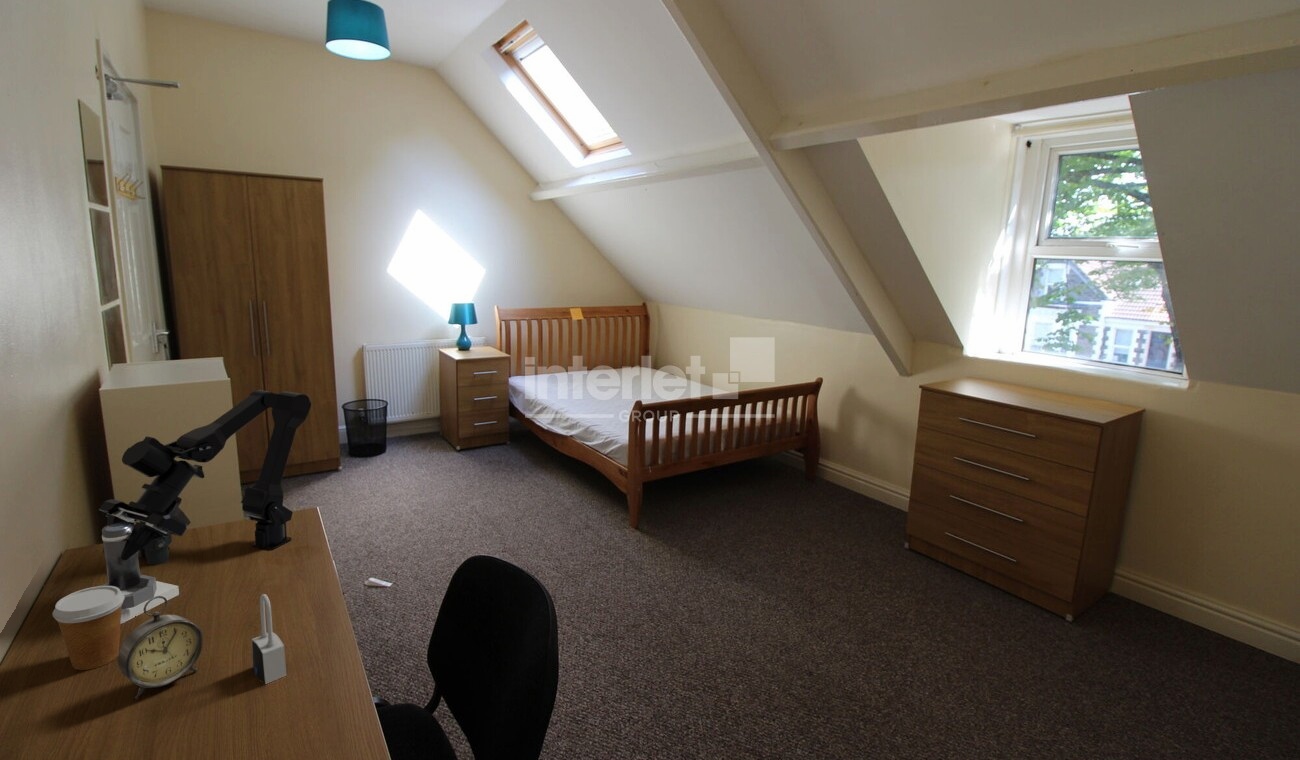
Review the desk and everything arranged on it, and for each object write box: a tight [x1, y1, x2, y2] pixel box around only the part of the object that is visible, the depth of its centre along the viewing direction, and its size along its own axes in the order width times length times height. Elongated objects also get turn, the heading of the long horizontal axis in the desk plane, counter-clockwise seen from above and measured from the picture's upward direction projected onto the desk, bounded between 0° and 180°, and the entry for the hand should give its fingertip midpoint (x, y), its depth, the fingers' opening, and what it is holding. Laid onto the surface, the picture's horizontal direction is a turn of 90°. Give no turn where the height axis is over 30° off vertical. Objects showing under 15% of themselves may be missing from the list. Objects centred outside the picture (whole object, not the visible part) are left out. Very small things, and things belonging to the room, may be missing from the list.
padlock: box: [251, 593, 287, 685], centre depth 110 cm, size 7×4×15 cm, turn 49°
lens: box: [101, 522, 141, 590], centre depth 126 cm, size 5×5×13 cm
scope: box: [138, 521, 174, 566], centre depth 147 cm, size 8×14×10 cm
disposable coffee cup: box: [52, 585, 125, 671], centre depth 111 cm, size 10×10×12 cm
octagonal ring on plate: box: [100, 574, 180, 625], centre depth 128 cm, size 14×10×4 cm
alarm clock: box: [117, 596, 204, 700], centre depth 106 cm, size 11×5×16 cm, turn 148°
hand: (114, 556), depth 125 cm, fingers closed on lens, 5 cm apart
